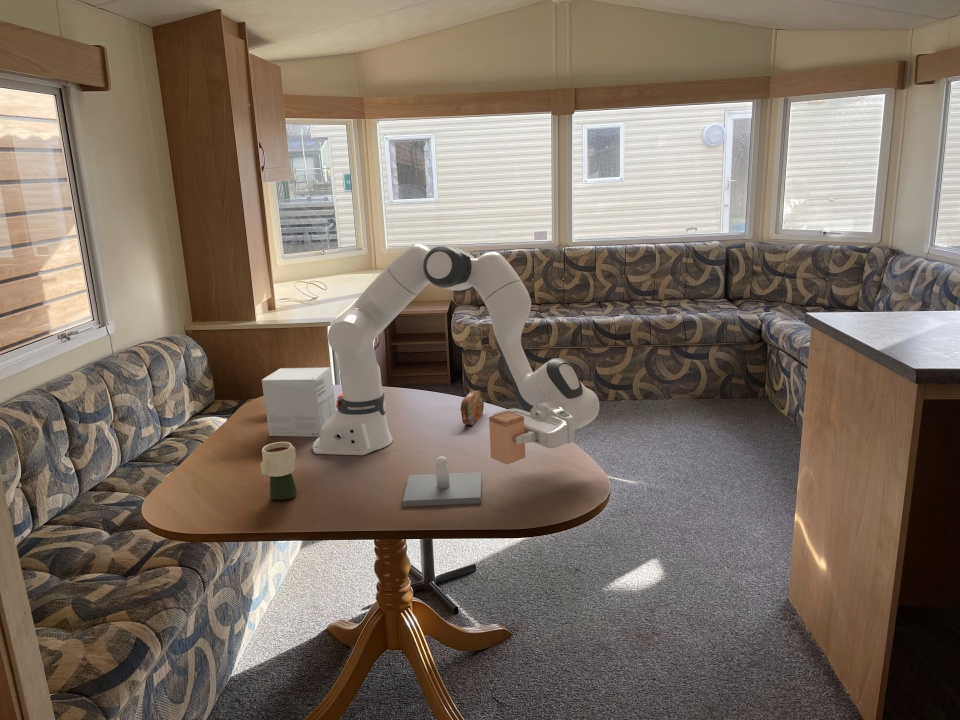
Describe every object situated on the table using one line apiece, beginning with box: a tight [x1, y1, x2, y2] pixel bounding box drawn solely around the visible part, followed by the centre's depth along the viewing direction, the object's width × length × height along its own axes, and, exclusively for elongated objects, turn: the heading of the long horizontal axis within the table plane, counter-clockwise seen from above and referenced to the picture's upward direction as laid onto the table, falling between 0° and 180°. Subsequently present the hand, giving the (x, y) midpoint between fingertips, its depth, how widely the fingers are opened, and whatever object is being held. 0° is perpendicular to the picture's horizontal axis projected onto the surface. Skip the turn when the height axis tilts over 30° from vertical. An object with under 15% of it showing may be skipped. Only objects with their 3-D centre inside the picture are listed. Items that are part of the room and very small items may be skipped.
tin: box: [460, 390, 484, 426], centre depth 215 cm, size 15×3×8 cm, turn 162°
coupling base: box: [402, 455, 482, 508], centre depth 168 cm, size 18×14×9 cm
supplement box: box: [261, 366, 337, 438], centre depth 214 cm, size 17×13×18 cm
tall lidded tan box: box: [488, 411, 526, 466], centre depth 161 cm, size 6×6×10 cm
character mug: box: [260, 441, 298, 501], centre depth 169 cm, size 11×7×13 cm, turn 150°
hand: (504, 436), depth 160 cm, fingers closed on tall lidded tan box, 6 cm apart
